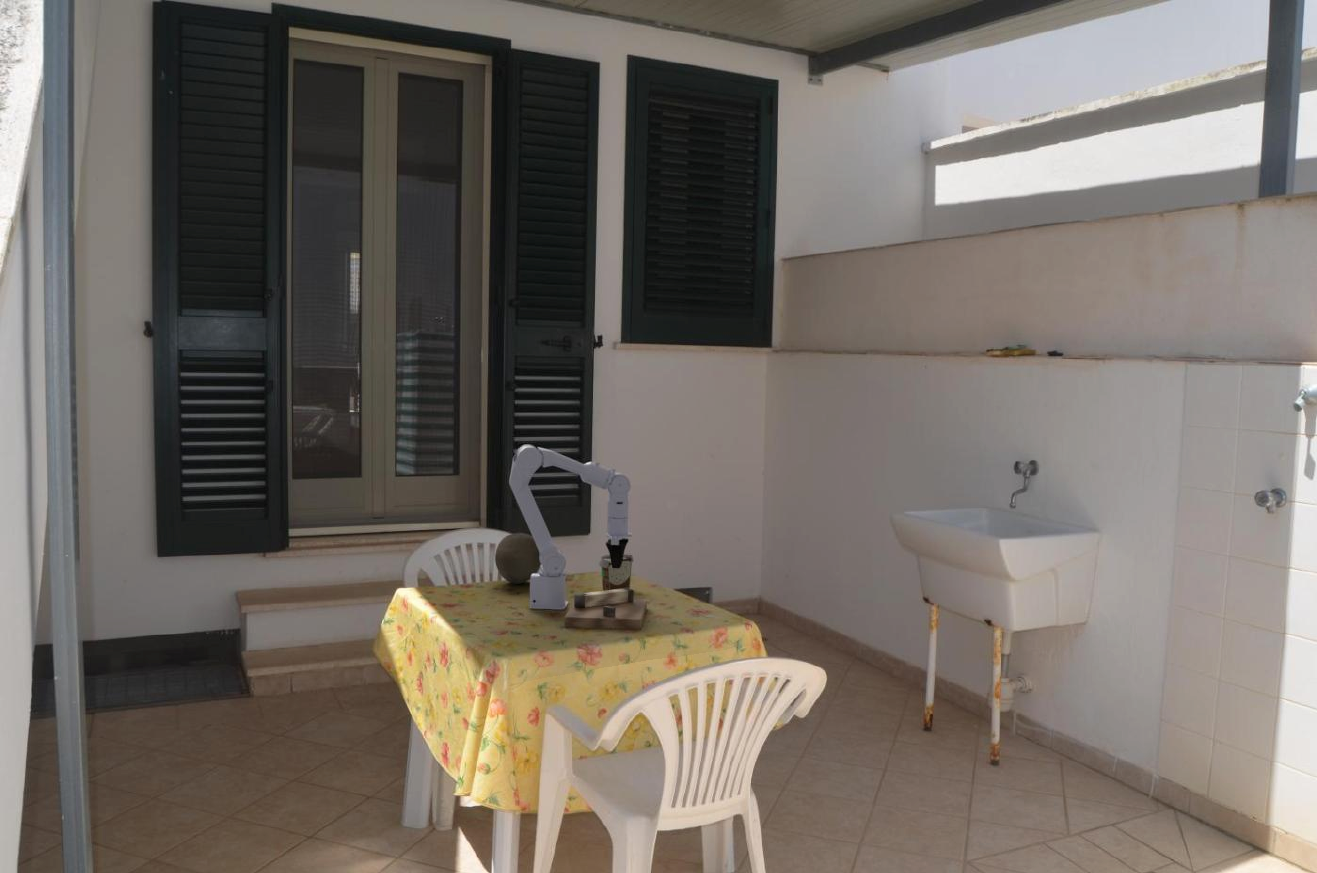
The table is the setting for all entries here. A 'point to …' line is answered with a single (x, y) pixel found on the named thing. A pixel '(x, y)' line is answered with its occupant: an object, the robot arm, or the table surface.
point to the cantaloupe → (517, 558)
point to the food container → (616, 573)
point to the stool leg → (603, 597)
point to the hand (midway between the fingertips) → (616, 566)
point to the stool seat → (608, 615)
